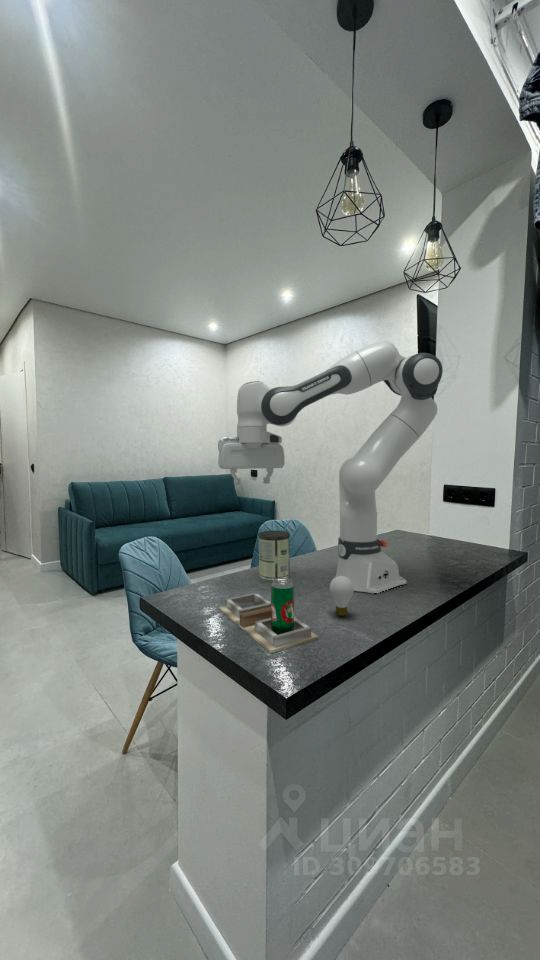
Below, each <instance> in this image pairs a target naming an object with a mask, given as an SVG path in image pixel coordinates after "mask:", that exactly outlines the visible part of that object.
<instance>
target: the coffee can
mask: <svg viewBox="0 0 540 960" xmlns="http://www.w3.org/2000/svg"><path fill="white" fill-rule="evenodd" d="M290 537H291V534H290V532H288V531H284V530H265V531H261V532H259V533H258V572H259V573H258V577H259V578H261V579H262V580H265V581H273V580H274V579H276V578H290V577H291V575H290V570H291V569H290V563H291V562H290Z"/></svg>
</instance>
